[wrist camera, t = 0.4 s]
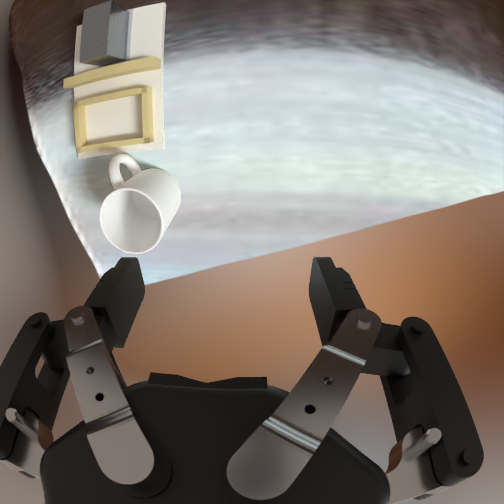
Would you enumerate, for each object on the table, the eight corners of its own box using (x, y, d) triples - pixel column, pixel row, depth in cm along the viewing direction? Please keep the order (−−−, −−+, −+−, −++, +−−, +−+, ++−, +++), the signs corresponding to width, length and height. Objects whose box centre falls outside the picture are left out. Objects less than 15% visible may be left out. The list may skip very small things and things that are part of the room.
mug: (110, 160, 35) (73, 179, 26) (156, 134, 34) (127, 145, 25) (145, 228, 41) (121, 262, 32) (191, 207, 39) (175, 240, 30)
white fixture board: (80, 27, 24) (67, 23, 20) (166, 4, 24) (158, -5, 21) (81, 157, 35) (68, 163, 31) (164, 147, 35) (156, 152, 32)
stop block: (104, 19, 23) (84, 9, 18) (129, 12, 23) (111, 0, 18) (101, 66, 27) (79, 62, 22) (126, 60, 27) (106, 54, 22)
